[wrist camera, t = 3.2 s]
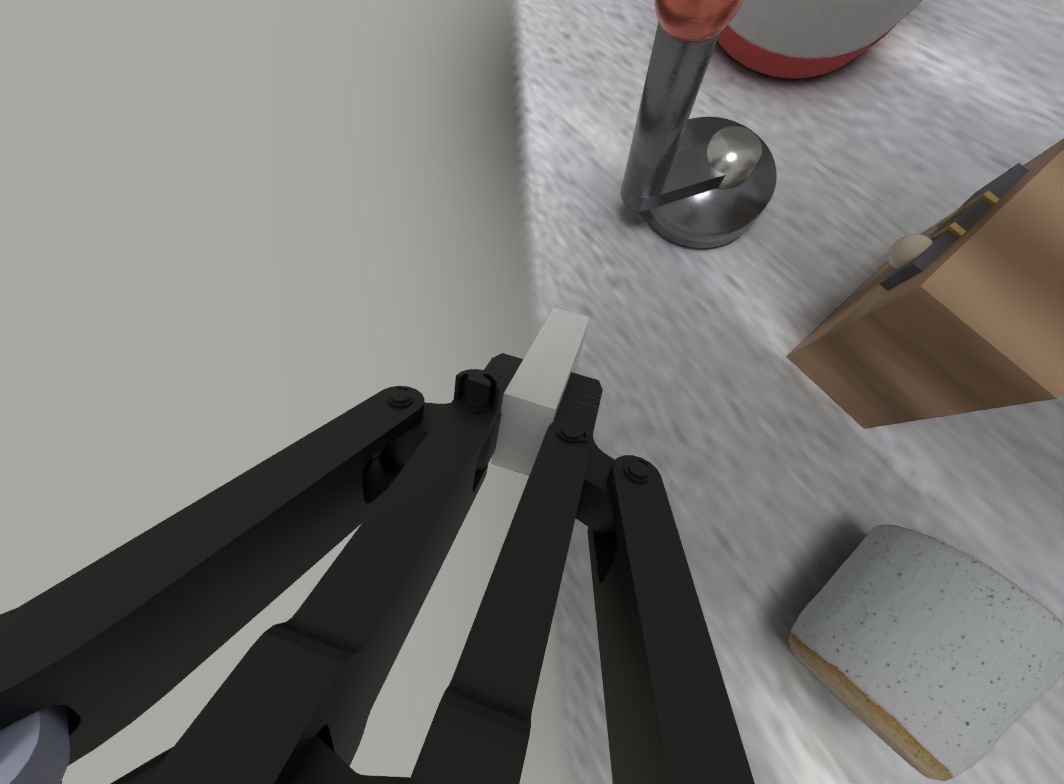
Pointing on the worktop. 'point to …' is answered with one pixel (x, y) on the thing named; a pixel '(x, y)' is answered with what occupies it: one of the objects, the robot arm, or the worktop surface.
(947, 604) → the ceramic mug
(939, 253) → the walnut stand
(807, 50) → the citrus juicer
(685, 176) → the lever with red knob
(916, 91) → the worktop surface
